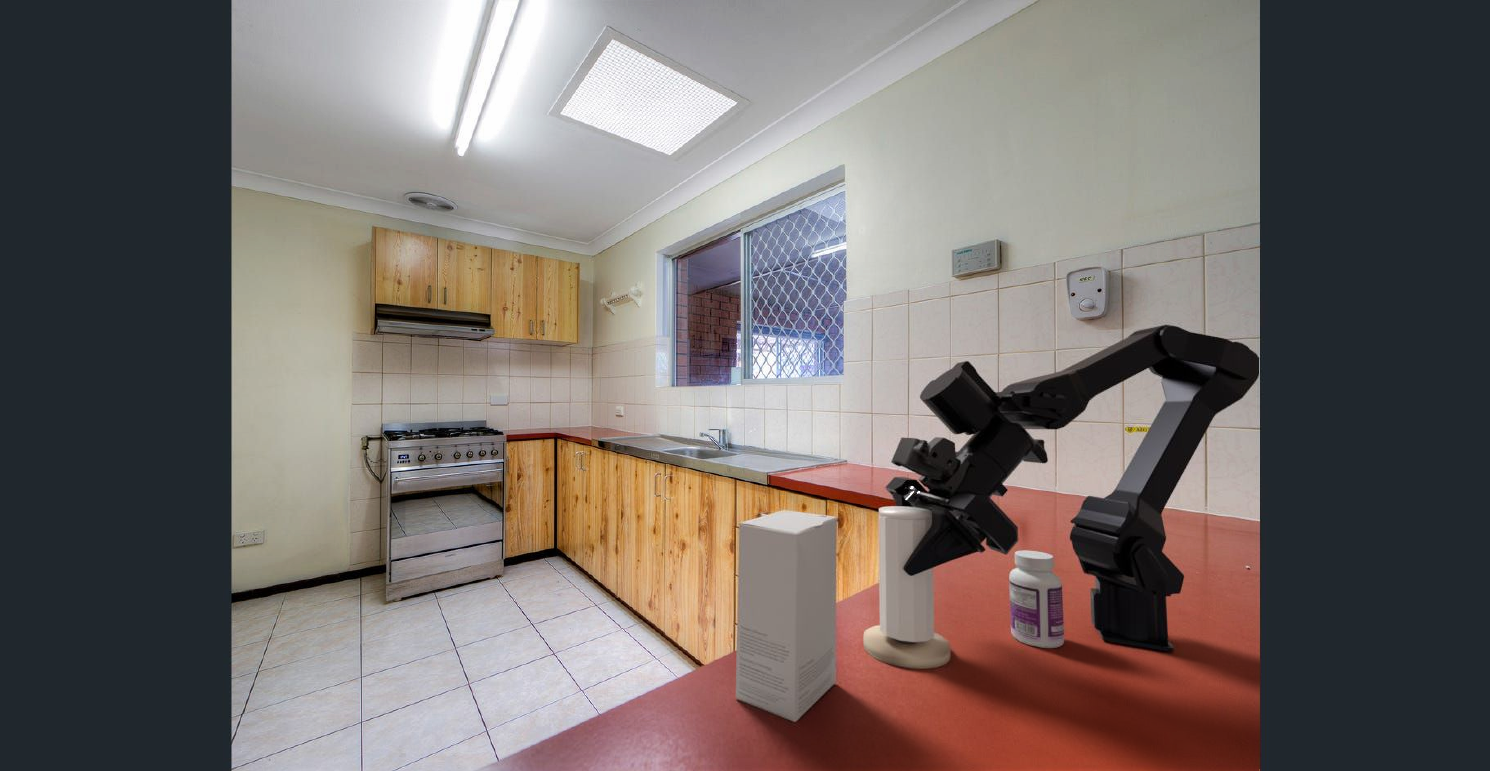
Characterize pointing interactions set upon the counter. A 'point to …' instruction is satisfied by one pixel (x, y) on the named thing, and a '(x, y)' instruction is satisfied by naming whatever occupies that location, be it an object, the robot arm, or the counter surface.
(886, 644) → the post base
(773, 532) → the skincare box
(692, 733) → the counter surface
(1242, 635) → the counter surface
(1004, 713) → the counter surface
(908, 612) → the white plastic canister
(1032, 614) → the pill bottle
